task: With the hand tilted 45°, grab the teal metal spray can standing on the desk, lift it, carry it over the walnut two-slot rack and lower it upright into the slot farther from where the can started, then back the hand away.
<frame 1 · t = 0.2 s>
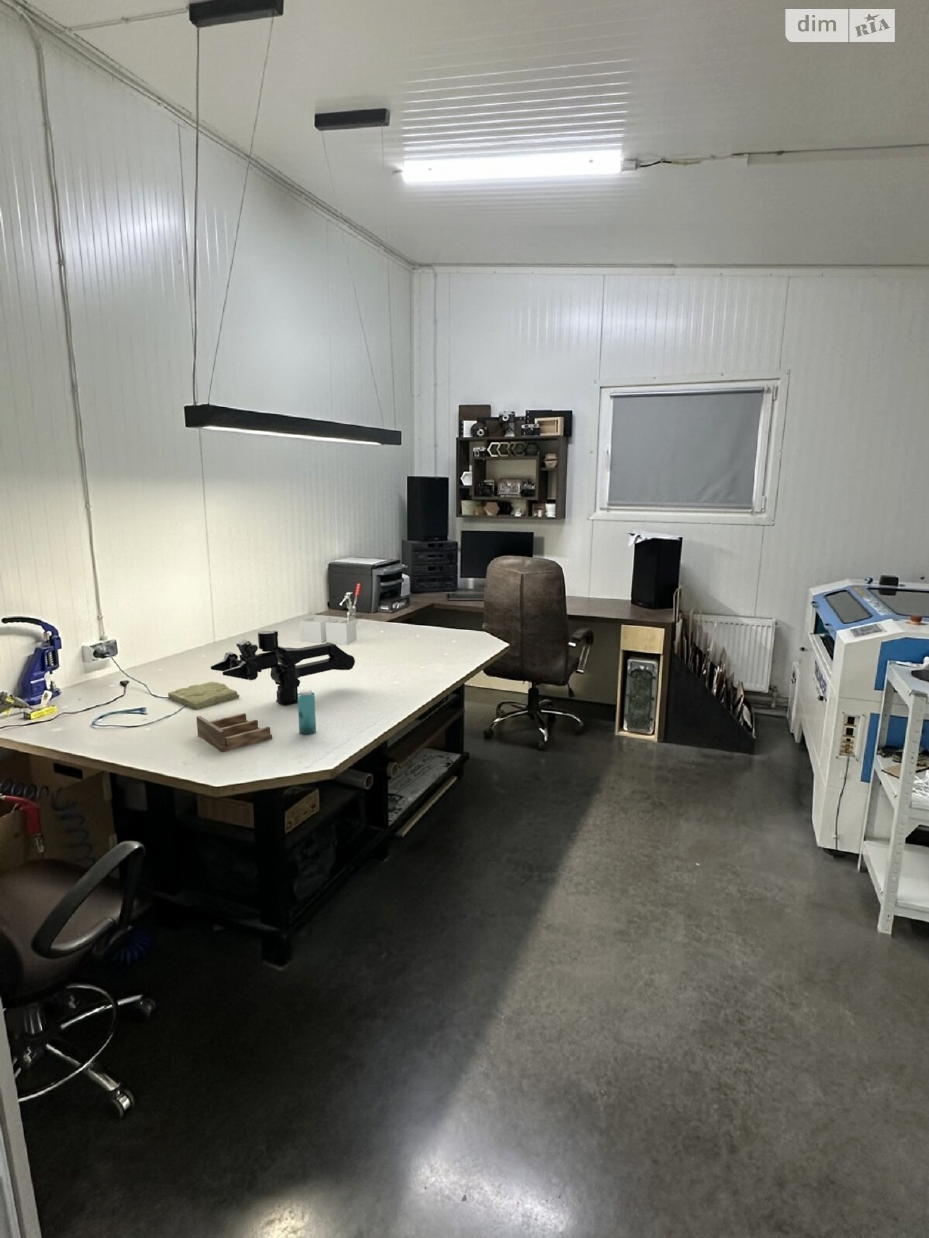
hand: (216, 670, 222), 17 cm above the table, fingers open, 9 cm apart
rack: (234, 736, 209), on the table
decorative tile: (205, 699, 248), on the table
storage container: (329, 642, 338), on the table
spray can: (307, 731, 214), on the table
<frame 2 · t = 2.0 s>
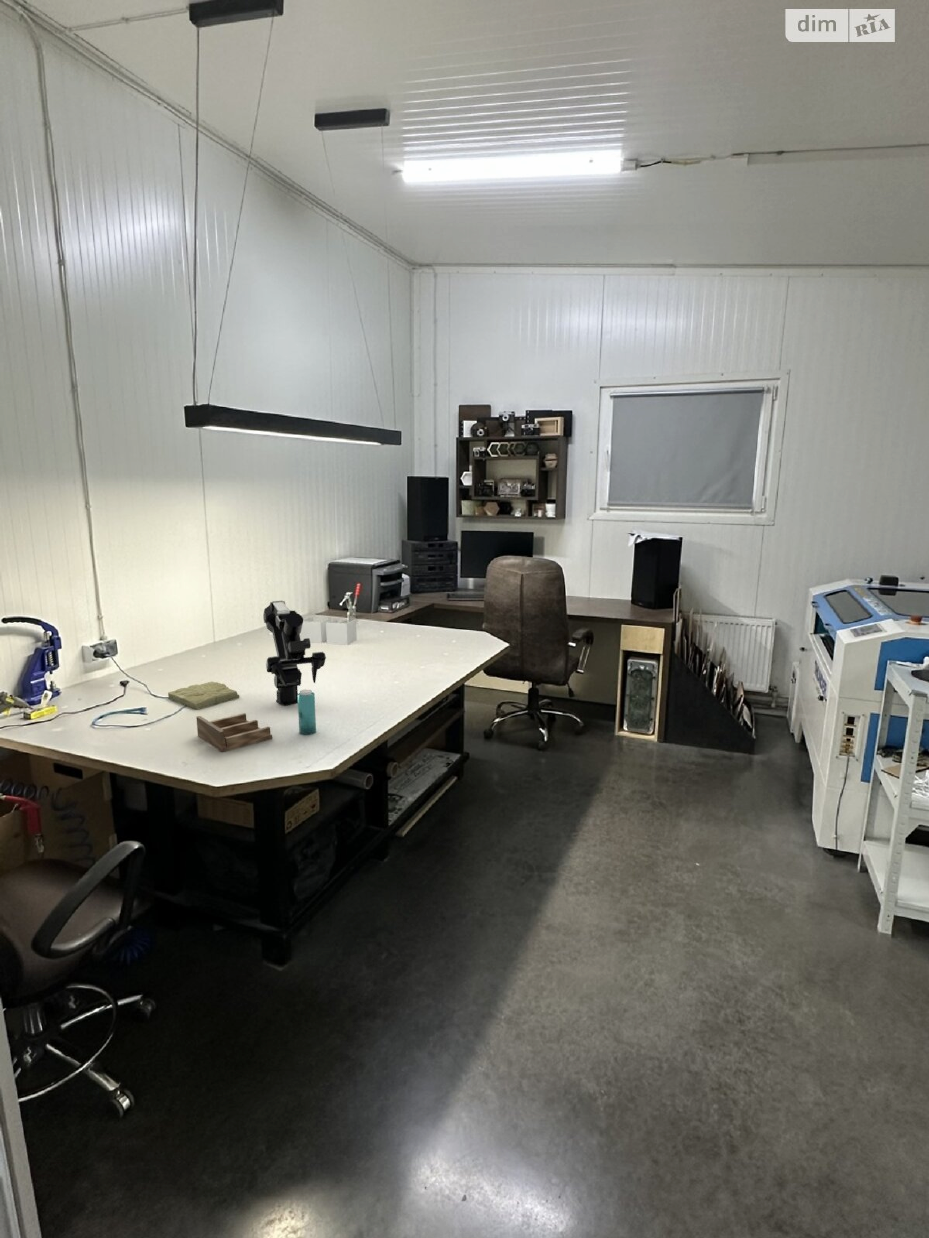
hand: (300, 684, 218), 14 cm above the table, fingers open, 9 cm apart
nothing on the table moved.
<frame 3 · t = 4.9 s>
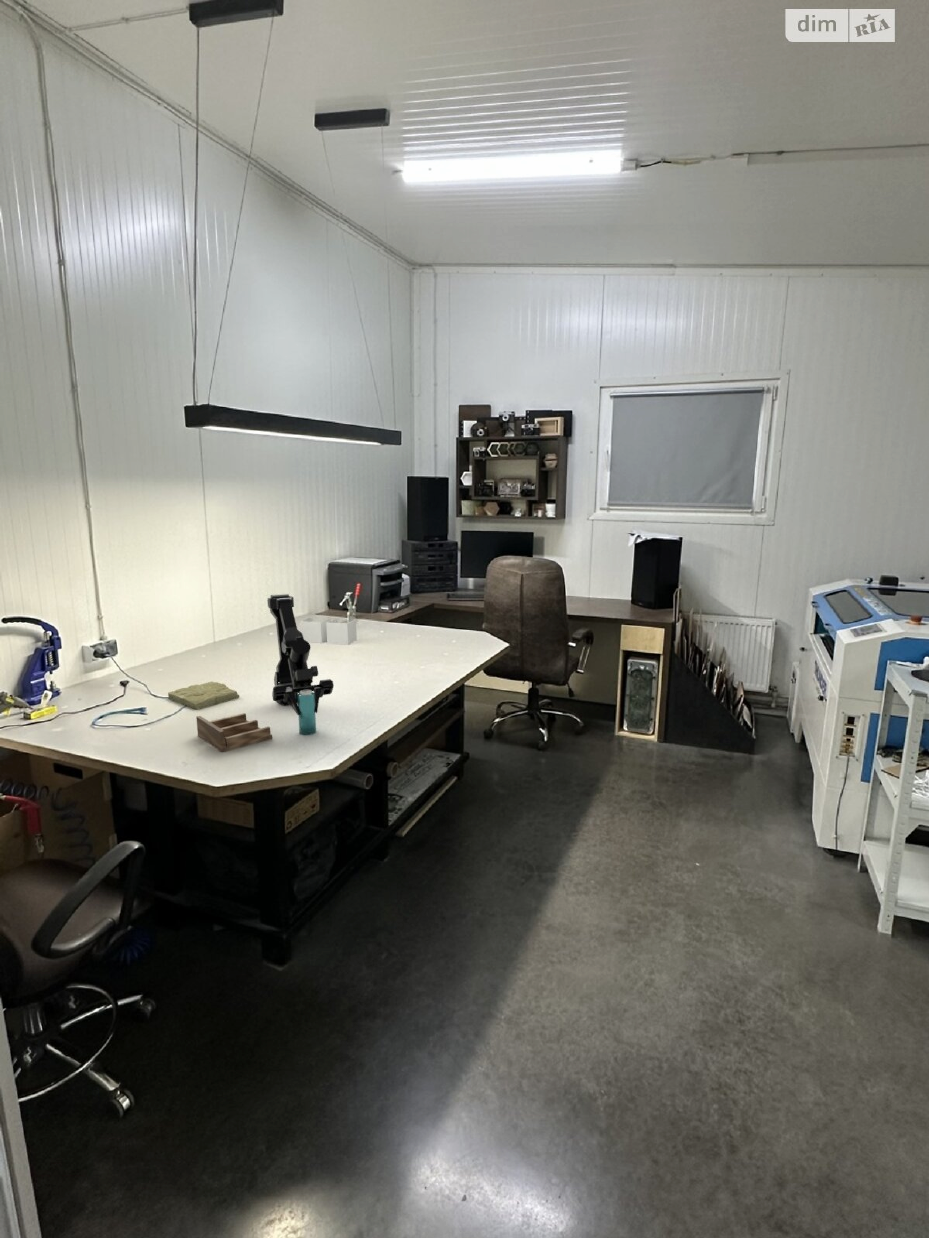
hand: (307, 713, 211), 7 cm above the table, fingers closed on spray can, 5 cm apart
spray can: (307, 731, 213), on the table, touching gripper
everything else where it was.
when the fingers open (9 cm above the table, at t = 10.8 s): spray can stays where it is, resting on rack.
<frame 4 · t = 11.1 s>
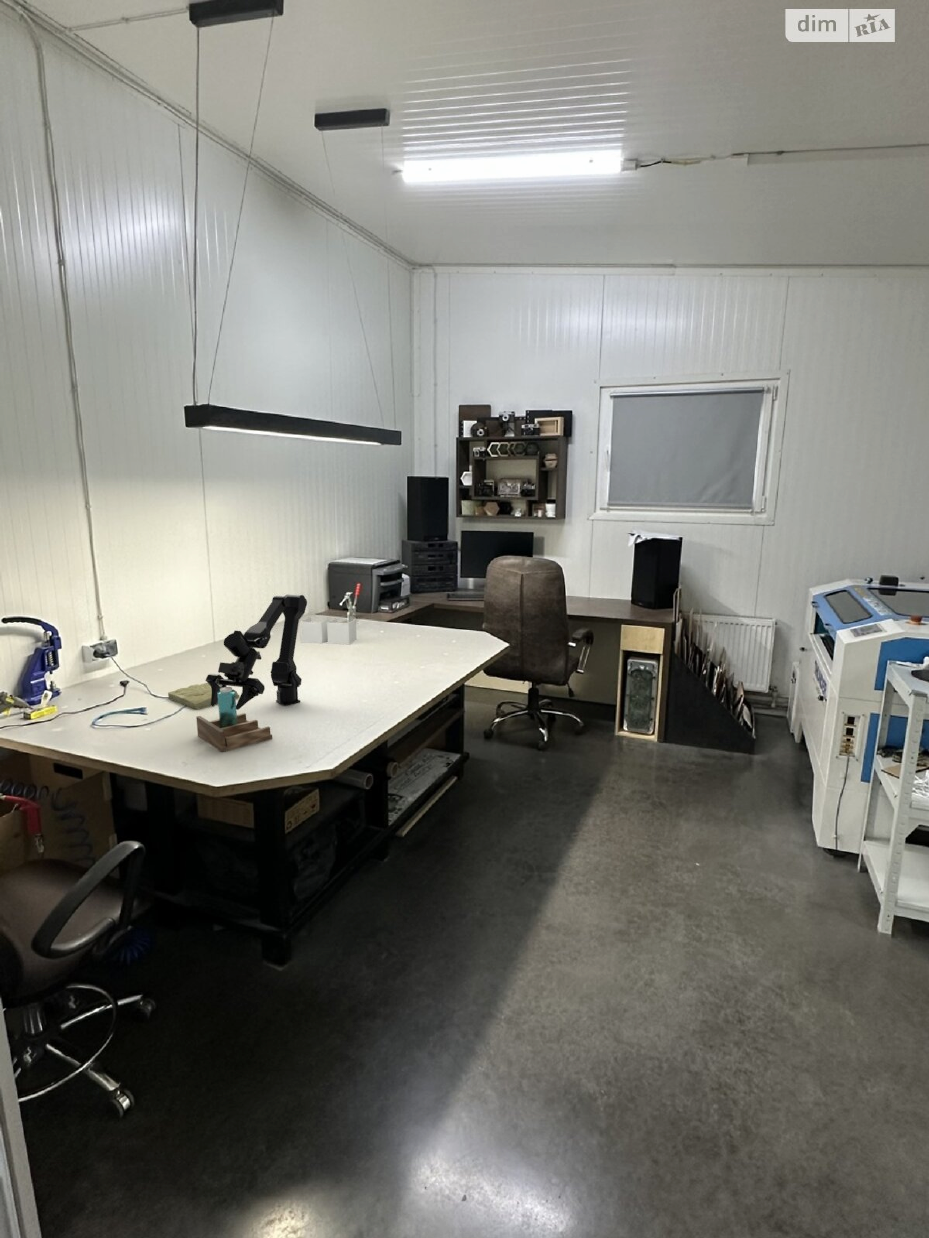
hand: (224, 707, 209), 9 cm above the table, fingers open, 9 cm apart
spray can: (229, 729, 212), point 1 cm above the table, touching rack
everything else where it was.
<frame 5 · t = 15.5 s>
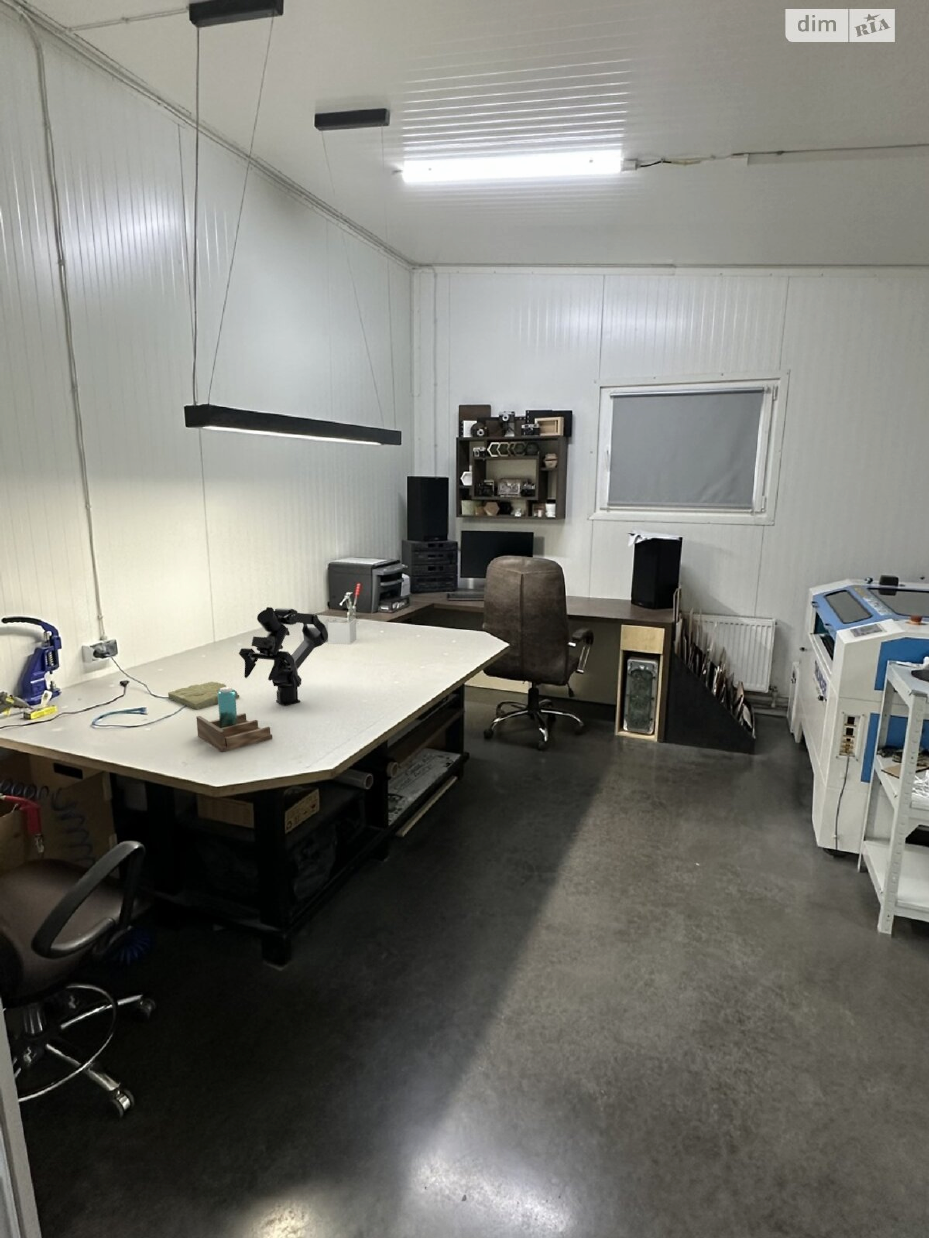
hand: (257, 678, 224), 14 cm above the table, fingers open, 9 cm apart
at the end: spray can inside the target area on the rack (0.1 cm from its centre), point 1.2 cm above the rack's base; spray can tilted 0°; the gripper is holding nothing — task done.
